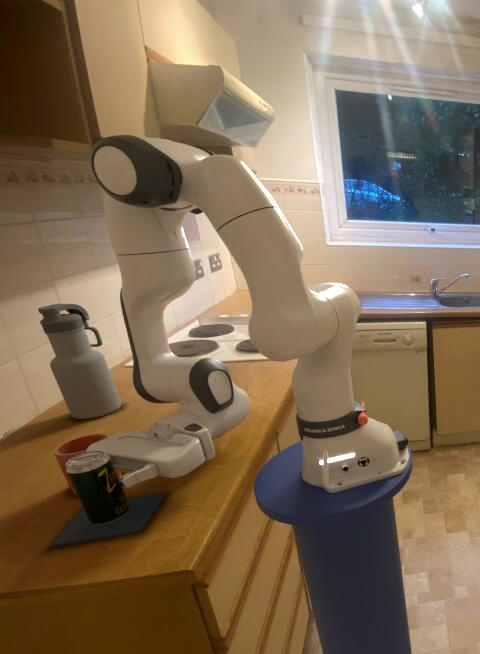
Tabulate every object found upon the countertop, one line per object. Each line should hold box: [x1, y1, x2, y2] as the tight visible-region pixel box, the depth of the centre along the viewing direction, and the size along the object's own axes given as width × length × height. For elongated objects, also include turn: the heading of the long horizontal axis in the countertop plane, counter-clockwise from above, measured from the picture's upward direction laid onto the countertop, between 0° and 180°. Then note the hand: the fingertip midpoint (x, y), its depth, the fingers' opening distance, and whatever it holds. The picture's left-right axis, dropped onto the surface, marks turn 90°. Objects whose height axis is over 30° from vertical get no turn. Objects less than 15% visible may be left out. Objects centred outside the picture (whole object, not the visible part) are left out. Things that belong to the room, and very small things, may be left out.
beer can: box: [66, 450, 130, 526], centre depth 73 cm, size 5×5×12 cm
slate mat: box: [51, 492, 166, 549], centre depth 76 cm, size 12×10×1 cm
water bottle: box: [37, 303, 122, 420], centre depth 107 cm, size 10×10×28 cm
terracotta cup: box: [53, 433, 124, 496], centre depth 83 cm, size 7×7×9 cm
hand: (100, 479), depth 73 cm, fingers open, 8 cm apart
